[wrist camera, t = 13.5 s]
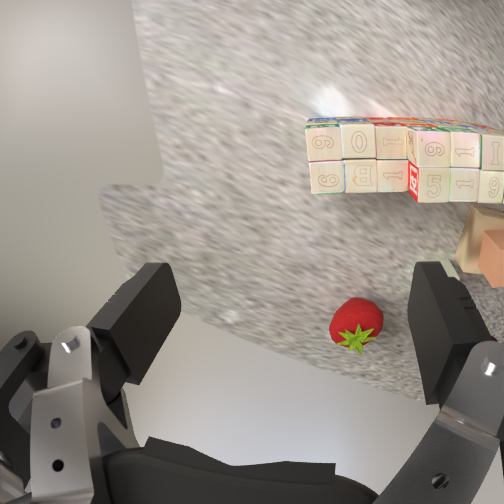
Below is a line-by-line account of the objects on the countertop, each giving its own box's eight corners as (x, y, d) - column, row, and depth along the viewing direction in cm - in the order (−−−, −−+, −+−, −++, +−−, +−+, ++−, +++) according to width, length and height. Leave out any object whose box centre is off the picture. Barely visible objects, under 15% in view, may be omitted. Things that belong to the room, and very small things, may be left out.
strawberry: (385, 302, 42) (395, 352, 33) (341, 323, 45) (341, 374, 37) (367, 273, 40) (376, 322, 32) (321, 297, 44) (318, 347, 35)
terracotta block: (483, 230, 30) (501, 250, 26) (512, 229, 28) (531, 247, 24) (477, 265, 32) (492, 288, 28) (506, 263, 31) (522, 284, 26)
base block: (469, 202, 32) (482, 214, 29) (512, 213, 31) (525, 225, 28) (453, 256, 36) (463, 271, 33) (495, 263, 35) (506, 277, 32)
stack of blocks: (312, 170, 35) (308, 206, 25) (307, 118, 33) (301, 129, 22) (476, 171, 30) (526, 207, 20) (477, 122, 27) (533, 141, 17)
